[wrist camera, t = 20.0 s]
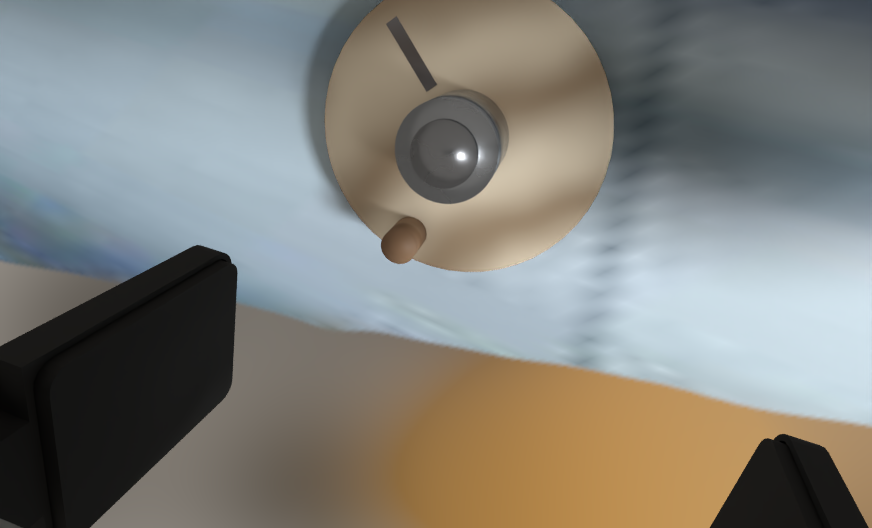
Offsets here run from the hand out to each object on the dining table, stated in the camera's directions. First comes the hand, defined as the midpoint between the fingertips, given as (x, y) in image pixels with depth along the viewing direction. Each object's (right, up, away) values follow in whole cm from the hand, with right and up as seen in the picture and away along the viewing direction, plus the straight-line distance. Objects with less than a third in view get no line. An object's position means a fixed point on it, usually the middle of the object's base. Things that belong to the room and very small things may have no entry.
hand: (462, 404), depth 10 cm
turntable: (+1, +10, +22) cm, 25 cm away
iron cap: (+1, +9, +21) cm, 23 cm away
